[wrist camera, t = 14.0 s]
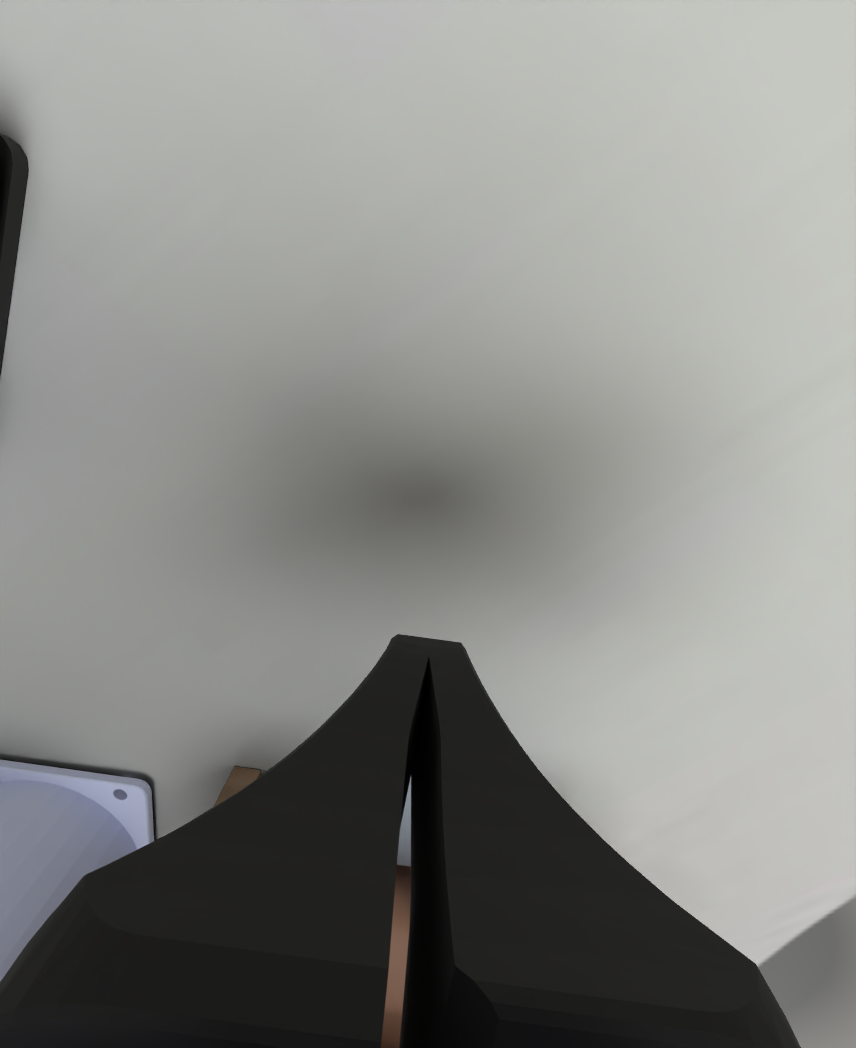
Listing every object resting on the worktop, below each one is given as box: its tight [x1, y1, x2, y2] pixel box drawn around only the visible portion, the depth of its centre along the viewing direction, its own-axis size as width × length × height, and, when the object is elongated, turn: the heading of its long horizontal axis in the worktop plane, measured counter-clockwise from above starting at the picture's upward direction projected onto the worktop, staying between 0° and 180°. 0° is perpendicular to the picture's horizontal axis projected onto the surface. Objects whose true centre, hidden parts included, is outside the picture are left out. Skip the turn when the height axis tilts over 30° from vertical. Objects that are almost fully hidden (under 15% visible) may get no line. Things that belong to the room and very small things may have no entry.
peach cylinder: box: [381, 865, 411, 1048], centre depth 19 cm, size 4×4×5 cm
